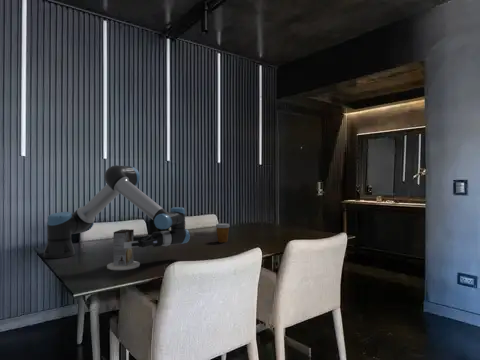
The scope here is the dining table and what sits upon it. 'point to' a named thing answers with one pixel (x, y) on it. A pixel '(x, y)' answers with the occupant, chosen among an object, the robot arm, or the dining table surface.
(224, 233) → the disposable coffee cup
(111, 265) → the plate
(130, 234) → the coffee box
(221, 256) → the dining table surface
